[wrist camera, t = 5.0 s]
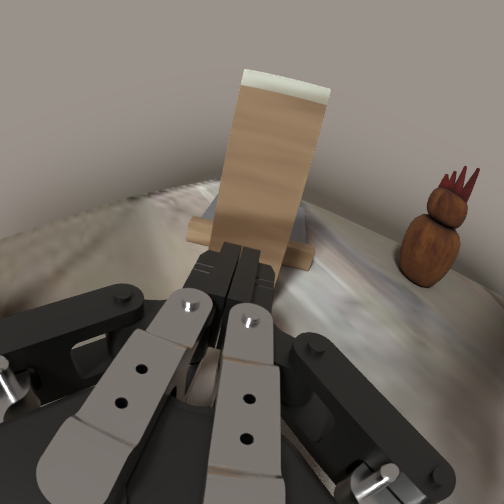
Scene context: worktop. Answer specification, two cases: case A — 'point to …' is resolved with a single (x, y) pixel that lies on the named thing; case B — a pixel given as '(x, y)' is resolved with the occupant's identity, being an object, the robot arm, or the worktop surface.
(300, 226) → the rubber mat
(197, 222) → the ledge
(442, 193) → the wooden figurine
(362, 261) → the worktop surface
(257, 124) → the wooden block
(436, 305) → the worktop surface
